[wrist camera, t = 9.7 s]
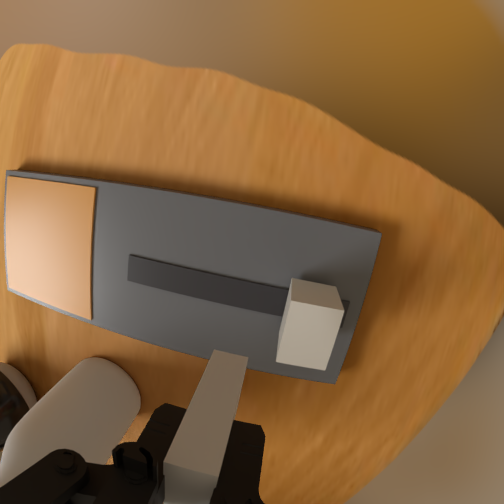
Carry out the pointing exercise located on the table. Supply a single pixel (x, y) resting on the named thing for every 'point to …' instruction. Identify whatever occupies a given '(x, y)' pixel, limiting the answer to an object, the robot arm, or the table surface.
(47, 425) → the milk bottle
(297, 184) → the table surface
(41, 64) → the table surface
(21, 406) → the pump dispenser
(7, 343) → the table surface
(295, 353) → the handle
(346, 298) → the board
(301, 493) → the table surface
